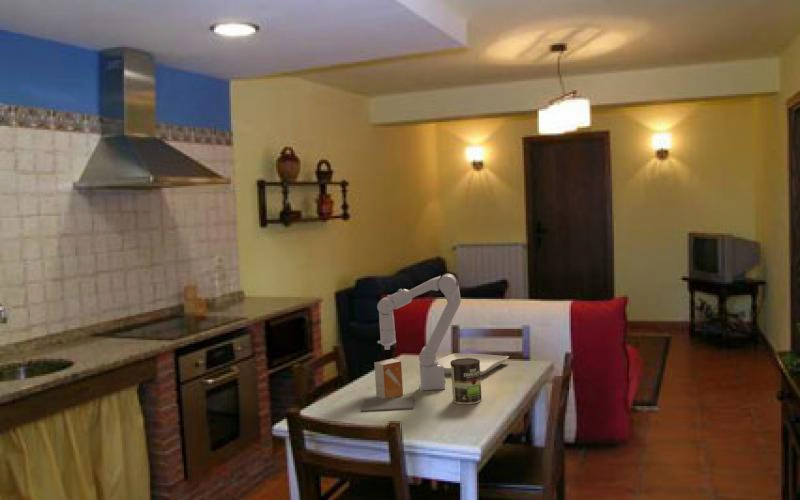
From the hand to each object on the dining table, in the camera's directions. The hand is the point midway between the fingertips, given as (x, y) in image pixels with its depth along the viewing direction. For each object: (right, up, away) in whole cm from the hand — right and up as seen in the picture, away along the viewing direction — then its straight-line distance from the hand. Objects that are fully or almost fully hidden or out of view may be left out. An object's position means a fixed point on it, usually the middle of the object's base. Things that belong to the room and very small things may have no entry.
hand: (389, 364), depth 277 cm
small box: (0, -10, -10) cm, 14 cm away
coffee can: (+28, -9, -22) cm, 37 cm away
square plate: (+32, -6, +24) cm, 41 cm away
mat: (0, -11, -21) cm, 24 cm away
